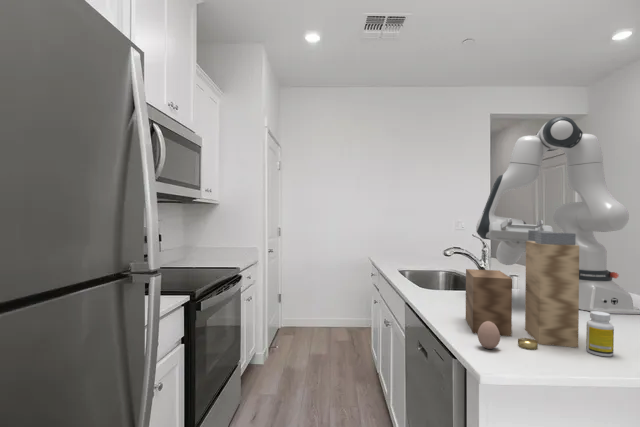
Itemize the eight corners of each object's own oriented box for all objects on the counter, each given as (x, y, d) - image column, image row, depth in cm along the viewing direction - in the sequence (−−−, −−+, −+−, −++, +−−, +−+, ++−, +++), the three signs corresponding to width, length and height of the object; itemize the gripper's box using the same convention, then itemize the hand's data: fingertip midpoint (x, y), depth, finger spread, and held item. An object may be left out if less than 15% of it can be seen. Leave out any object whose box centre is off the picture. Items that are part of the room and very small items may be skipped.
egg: (498, 353, 92) (498, 325, 92) (475, 349, 95) (476, 322, 95) (501, 347, 96) (501, 320, 96) (479, 343, 99) (479, 317, 99)
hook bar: (519, 239, 120) (519, 229, 121) (547, 240, 119) (547, 230, 119) (541, 244, 100) (541, 232, 100) (575, 245, 98) (575, 233, 98)
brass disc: (534, 345, 99) (534, 338, 99) (540, 351, 94) (540, 344, 94) (516, 344, 100) (516, 337, 100) (520, 349, 96) (520, 342, 96)
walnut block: (498, 320, 121) (499, 270, 121) (511, 336, 105) (512, 278, 105) (465, 318, 123) (466, 269, 123) (472, 333, 108) (473, 276, 108)
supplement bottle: (618, 358, 90) (618, 316, 90) (592, 356, 91) (593, 315, 91) (606, 350, 95) (606, 311, 95) (582, 348, 96) (582, 309, 97)
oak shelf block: (559, 332, 110) (560, 242, 110) (578, 347, 97) (579, 245, 97) (525, 329, 112) (525, 241, 112) (539, 344, 99) (540, 244, 99)
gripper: (484, 230, 144) (491, 211, 132) (544, 234, 139) (557, 214, 127) (485, 245, 141) (492, 227, 129) (546, 250, 136) (560, 231, 124)
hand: (525, 221), depth 128 cm, fingers open, 8 cm apart
